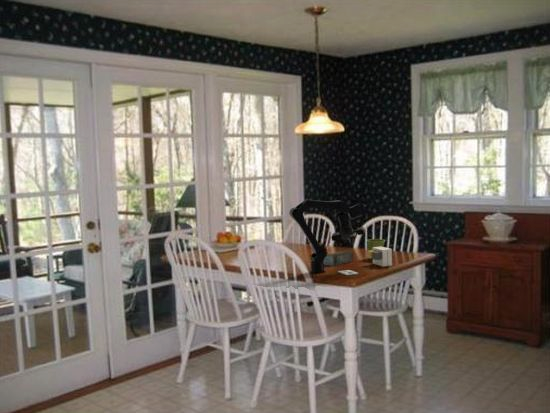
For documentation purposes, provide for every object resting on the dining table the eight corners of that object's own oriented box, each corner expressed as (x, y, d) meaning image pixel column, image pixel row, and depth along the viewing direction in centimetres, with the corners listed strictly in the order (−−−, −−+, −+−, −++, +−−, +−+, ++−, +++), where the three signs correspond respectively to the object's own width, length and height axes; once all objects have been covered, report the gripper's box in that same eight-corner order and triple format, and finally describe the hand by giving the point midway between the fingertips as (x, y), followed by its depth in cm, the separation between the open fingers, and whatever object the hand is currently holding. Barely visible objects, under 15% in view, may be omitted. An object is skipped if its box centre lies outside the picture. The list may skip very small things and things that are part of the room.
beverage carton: (323, 264, 336) (323, 253, 335) (344, 260, 349) (343, 249, 348) (333, 266, 330) (333, 255, 329) (354, 261, 343) (354, 250, 343)
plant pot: (385, 260, 343) (385, 241, 342) (365, 260, 345) (365, 241, 344) (385, 256, 354) (385, 238, 353) (366, 256, 357) (366, 238, 356)
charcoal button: (375, 260, 322) (375, 253, 322) (372, 259, 326) (372, 252, 325) (382, 259, 324) (382, 252, 324) (379, 258, 327) (378, 251, 327)
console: (383, 266, 323) (382, 250, 322) (372, 263, 333) (372, 247, 333) (392, 265, 325) (391, 249, 325) (381, 262, 336) (381, 246, 335)
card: (346, 275, 303) (346, 273, 303) (338, 271, 312) (337, 270, 312) (358, 273, 306) (358, 272, 306) (349, 270, 315) (349, 269, 315)
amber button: (370, 258, 327) (370, 251, 327) (367, 257, 331) (367, 250, 330) (377, 257, 329) (377, 250, 329) (374, 256, 332) (373, 250, 332)
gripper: (326, 230, 311) (334, 256, 314) (359, 222, 305) (367, 249, 308) (329, 224, 321) (337, 249, 324) (361, 216, 315) (369, 242, 319)
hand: (352, 247), depth 319 cm, fingers closed
